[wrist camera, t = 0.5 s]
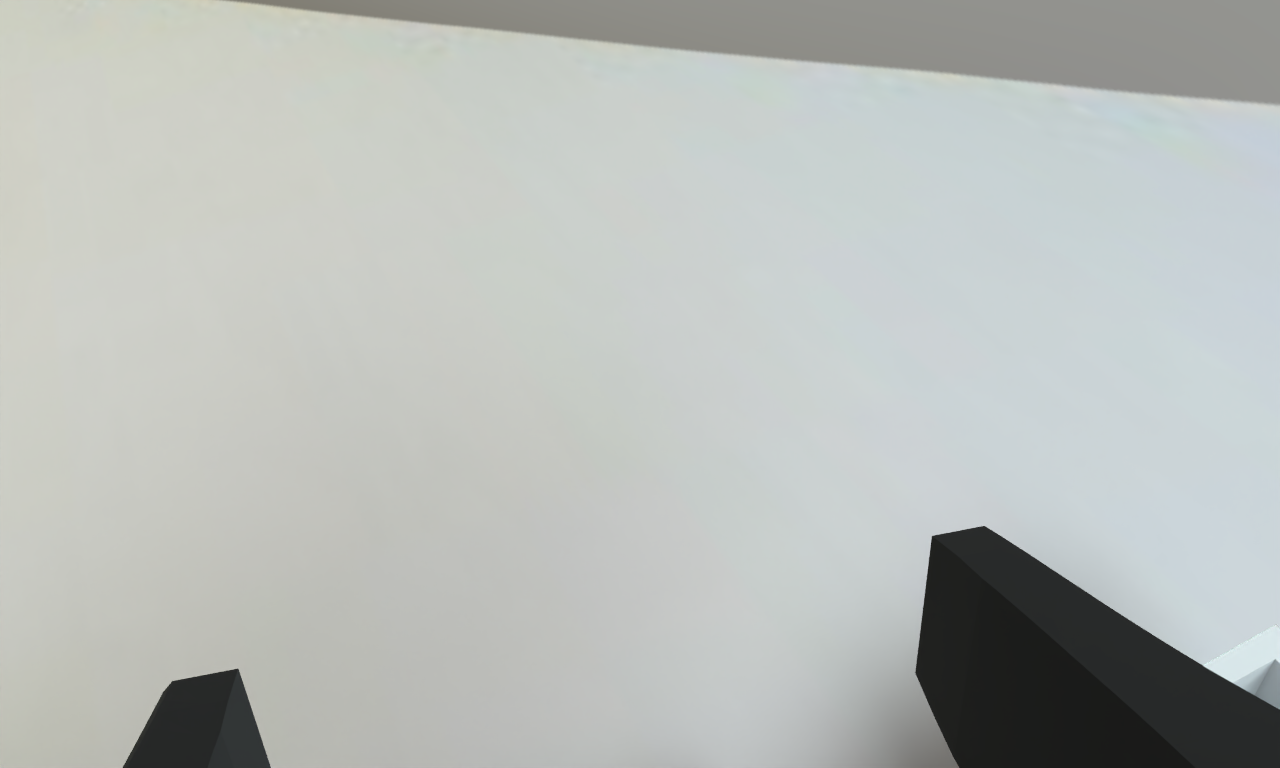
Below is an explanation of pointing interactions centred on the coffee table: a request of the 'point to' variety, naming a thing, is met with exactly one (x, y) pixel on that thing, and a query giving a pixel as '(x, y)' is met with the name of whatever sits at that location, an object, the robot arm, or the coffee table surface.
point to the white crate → (1254, 665)
